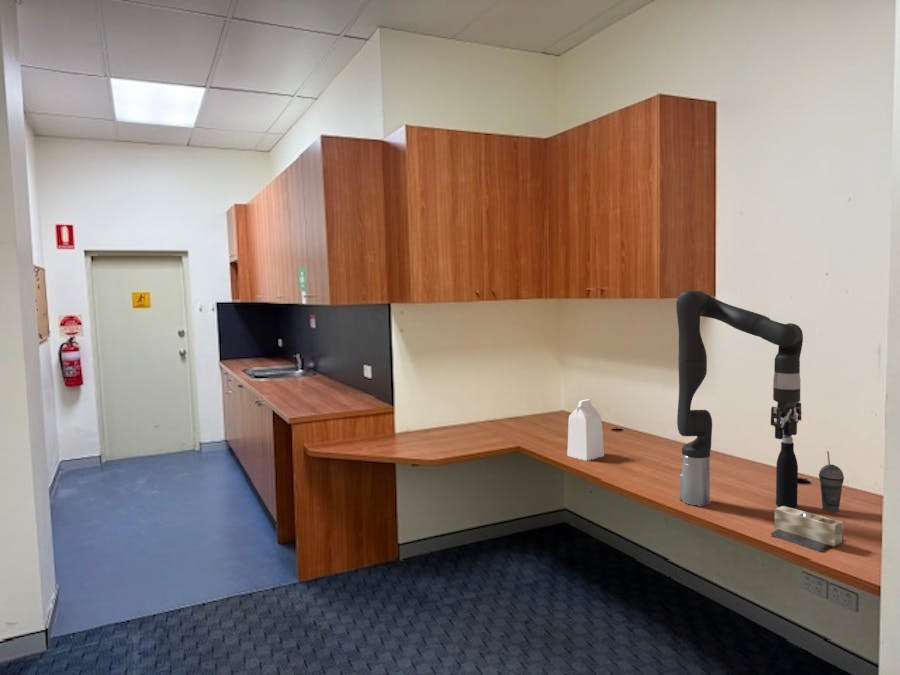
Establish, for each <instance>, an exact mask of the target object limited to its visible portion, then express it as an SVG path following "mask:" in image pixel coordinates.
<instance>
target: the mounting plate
mask: <svg viewBox="0 0 900 675" xmlns="http://www.w3.org/2000/svg"><path fill="white" fill-rule="evenodd" d="M810 513H811V512H808V513H807V511H804V513H803V517H807V518H811V514H810ZM771 535H772V536H771ZM770 536H771V537H773V536H775V537H774V538H776V537H778V538H777V539H779V538H781V539H780V540H782V539H783V541H785V540H787V541H786V542H788V541H789V543H791V542H792V543H791V544H794V543H795V544H794V545H797V544H798V546H801V547H804V548H807V549H810V550H813V551H816V552H820V553H821V552H822V551H824V550H827V549H828V548H830V547H831V545H828V544H825V543H821V542H818V541H815V540H812V539H809V538H805V537H802V536H799V535H796V534H792V533H789V532H786V531H783V530H780V529H776V530H774V531H772V532H770ZM843 540H844V536H843V535H842V541H843Z"/></svg>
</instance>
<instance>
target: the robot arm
mask: <svg viewBox="0 0 900 675" xmlns="http://www.w3.org/2000/svg"><path fill="white" fill-rule="evenodd" d="M675 304H676V305H675V306H676V308H675V309H676V317H677V326H678V327H677V328H678V400H677V401H678V402H677V403H678V404H677V413H676V414H677V415H676V416H677V417H676V421H677V422H676V424H677V426H676V427H677V430H678V433H679V434H680V436H682V437H696V438H695V439H693V440H692V441H690V442H688V443H685V444H684V445H683V446H682V447H681V448H682V449H681V473H679V501H681V500H682V501H681V502H683V504H686V503H687V504H686V505H688V504H691V505H690V506H692V505H700V506H699V507H705V506H704V505H707V506H708V504H709V505H710V504H711V451H712V450H711V449H712V435H713V432H712V431H713V420H712V419H713V418H712V416H711V413H710V412H709V411H708V410H706V409H691V408H692V406H691V405H692V401H693V398H694V395H695V394H696V393H697V391H698V389H699V388H700V387H701V385H702V383H703V381H704V380H705V378H706V375H707V372H708V369H707V368H708V367H707V366H708V365H707V364H708V363H707V362H708V356H707V351H706V348H705V344H704V341H703V339H702V335H701V329H700V328H701V327H700V326H701V317H704V318H708V319H709V318H710V319H714V320H717V321H719V322H723V323H725V324H727V325H729V327H732V328H734V329H736V330H738V331H740V332H743V333H747V334H748V335H751V336H755V337H759V338H761V339H763V340H765V341H767V342H769V343H771V344H773V345H776V346H778V351H777V354H776V355H775V357H774V367H773V368H774V372H773V373H774V374H773V381H772V382H773V386H772V388H773V389H772V390H773V391H772V392H773V394H772V396H773V397H772V400H774V402H777V405H776V406H771V410H770V411H771V412H770V426H773V427H774V437H775V439H778V440H782V439H783V436H784V435H783V426H784V423H785V422H787V420H789V422H790V423H789V434H791V435H792V436H796V435H797V434H798V424H799V421H800V422H801V421H802V402H801V382H802V381H801V375H800V374H801V368H800V367H801V362H800V361H801V360H800V358H801V353H802V348H803V343H804V333H803V331H802V329H801V327H800V325H797V324H795V323H789V322H788V323H782V322H778V321H776V320H772V319H771V318H770V317H768V316H766V315H763V314H760V313H757V312H754V311H751V310H747V309H744V308H741V307H737V306H733V305H731V304H728V303H725V302H723V301H721V300H718V299H717V298H715V297H713V296H711V295H709V294H707V293H705V292H703V291H701V290H685V291H683V292H682V293H680V294H679V295H678V297H677V299H676V303H675ZM702 505H703V506H702Z"/></svg>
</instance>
